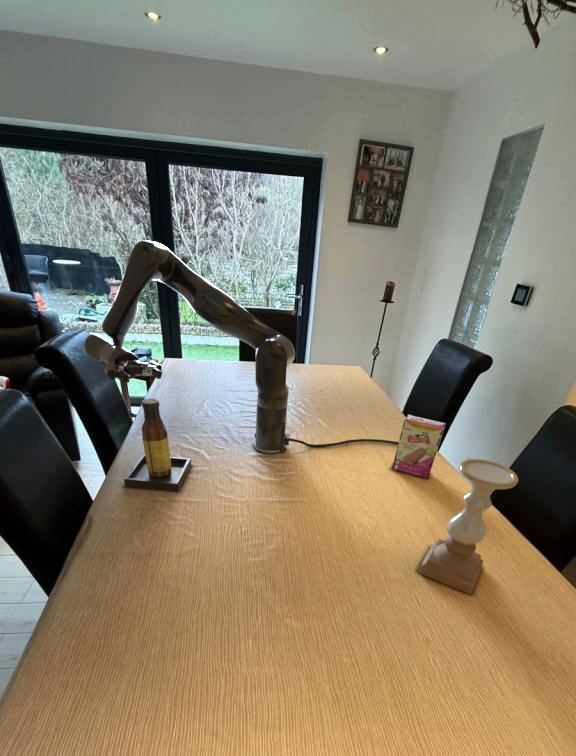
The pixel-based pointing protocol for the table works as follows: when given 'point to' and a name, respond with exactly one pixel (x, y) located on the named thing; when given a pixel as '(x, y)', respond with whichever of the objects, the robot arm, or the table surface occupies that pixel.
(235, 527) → the table surface
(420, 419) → the candy bar box
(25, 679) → the table surface
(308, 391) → the table surface
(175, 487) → the dark square tray
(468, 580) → the candle holder
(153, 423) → the sauce bottle
